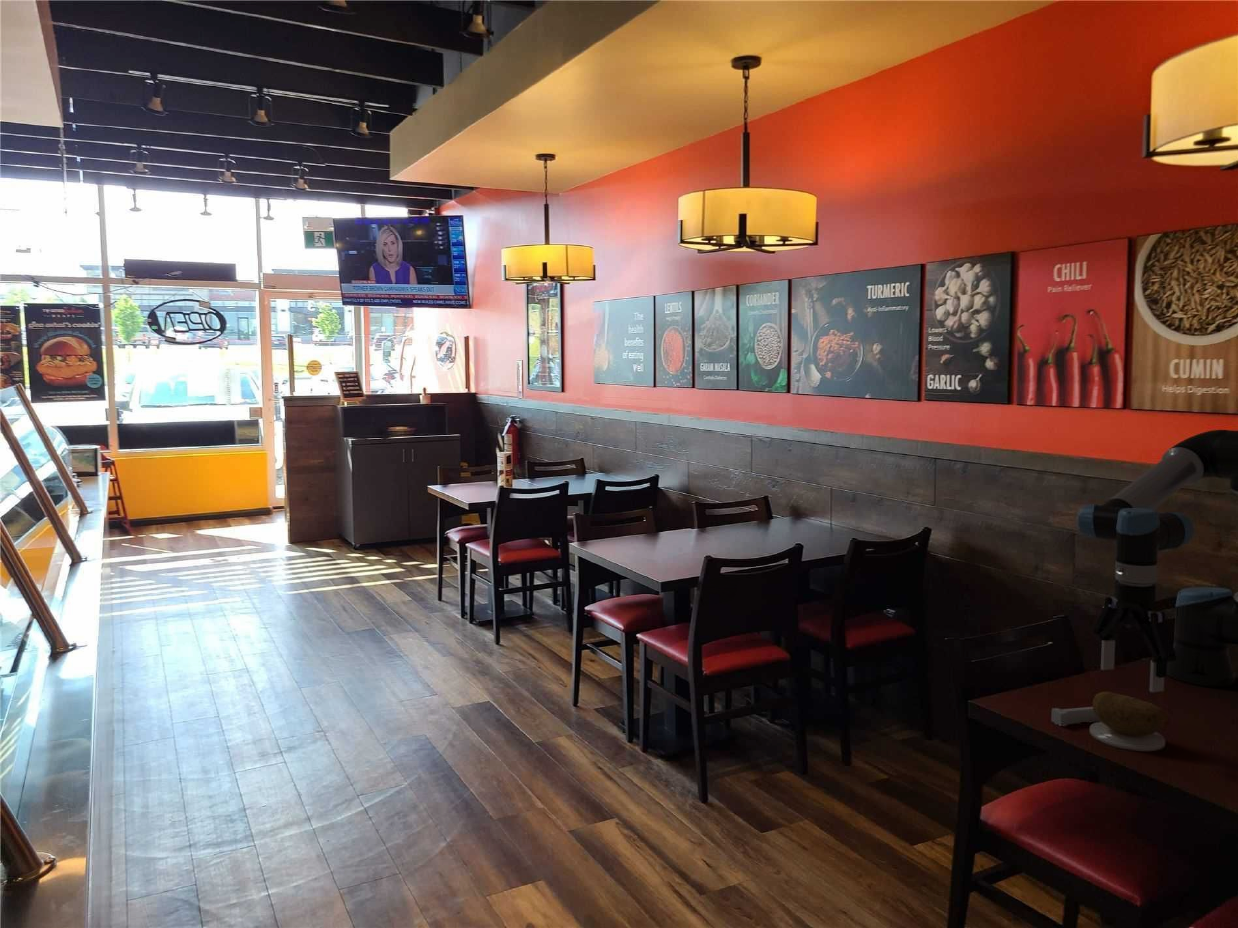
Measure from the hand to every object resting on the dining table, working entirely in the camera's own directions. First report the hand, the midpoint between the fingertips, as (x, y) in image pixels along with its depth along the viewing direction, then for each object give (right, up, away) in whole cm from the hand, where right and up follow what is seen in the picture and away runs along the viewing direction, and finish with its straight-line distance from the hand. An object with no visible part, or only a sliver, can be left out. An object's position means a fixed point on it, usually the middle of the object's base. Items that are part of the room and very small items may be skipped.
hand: (1131, 679), depth 186 cm
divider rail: (0, -12, +11) cm, 16 cm away
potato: (0, -12, +1) cm, 12 cm away
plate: (0, -13, +1) cm, 13 cm away
